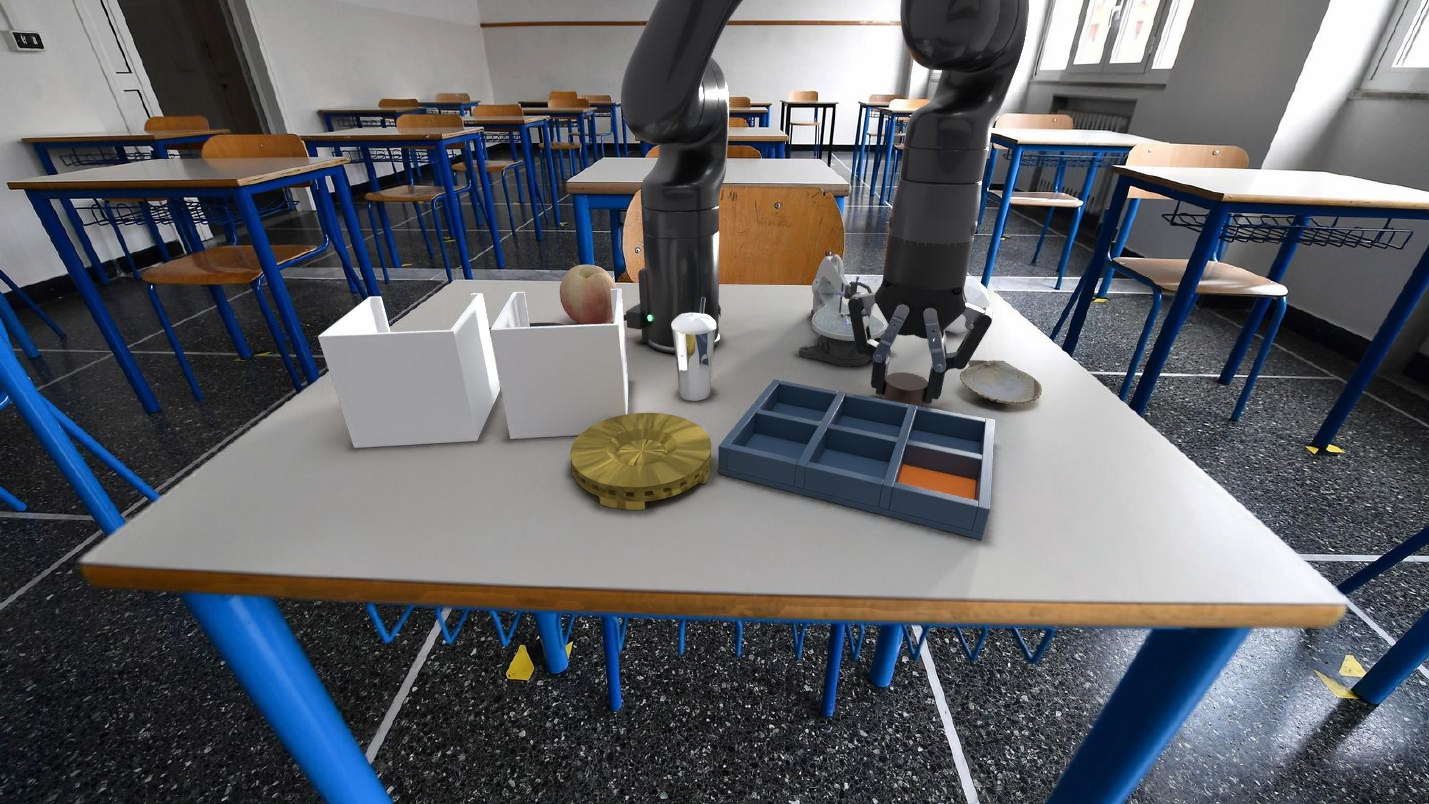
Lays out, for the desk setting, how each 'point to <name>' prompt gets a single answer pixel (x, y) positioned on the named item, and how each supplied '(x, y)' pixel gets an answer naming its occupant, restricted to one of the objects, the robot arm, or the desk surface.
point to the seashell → (1000, 382)
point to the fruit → (587, 294)
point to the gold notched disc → (641, 458)
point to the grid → (867, 455)
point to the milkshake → (694, 353)
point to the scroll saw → (837, 317)
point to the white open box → (474, 375)
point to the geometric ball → (970, 302)
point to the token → (905, 388)
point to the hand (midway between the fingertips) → (904, 395)
